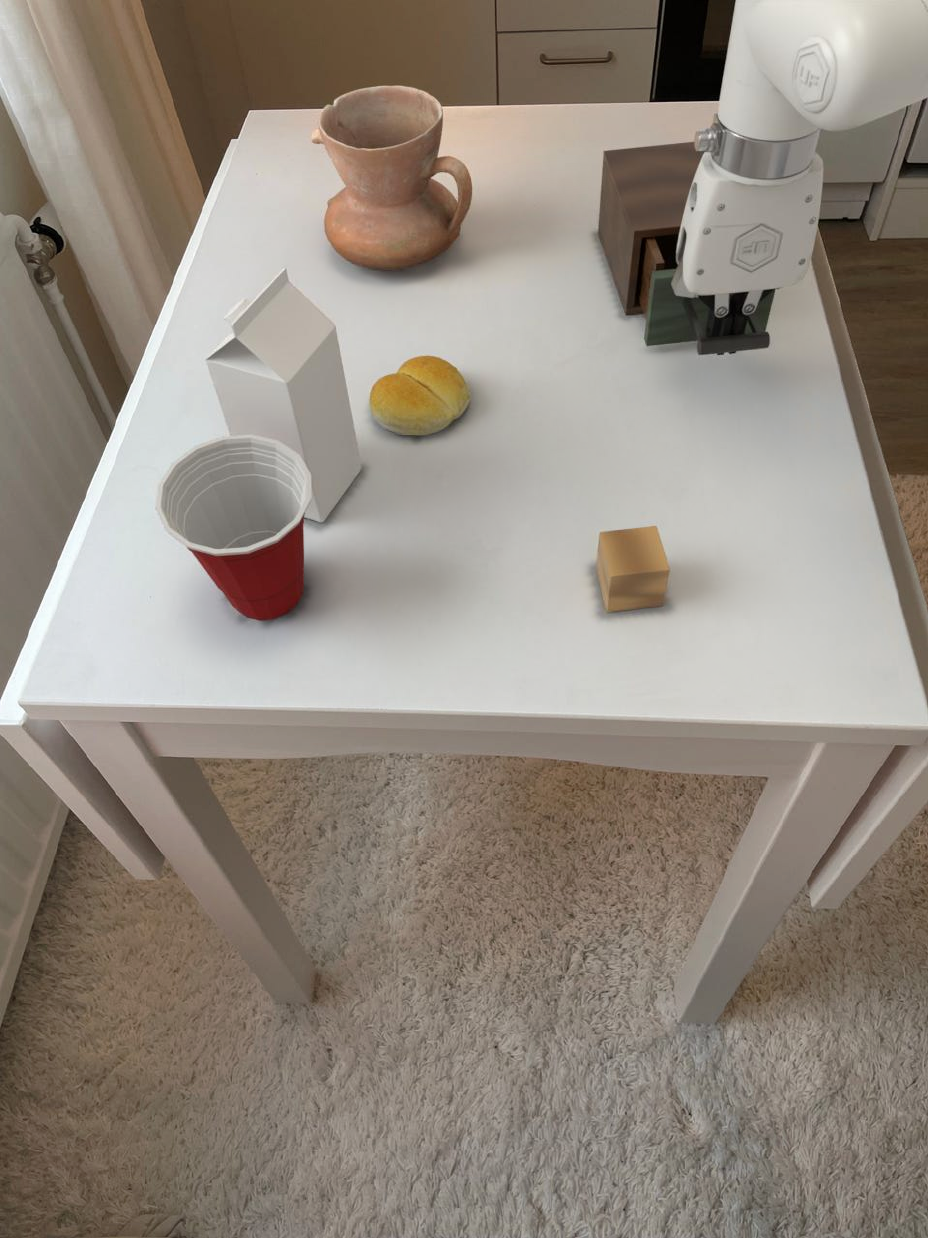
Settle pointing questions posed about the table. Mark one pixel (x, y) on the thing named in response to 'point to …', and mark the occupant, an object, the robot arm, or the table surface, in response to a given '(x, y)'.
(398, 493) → the table surface
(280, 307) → the milk carton
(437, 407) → the bread roll
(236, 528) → the plastic cup
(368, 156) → the ceramic jug
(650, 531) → the block
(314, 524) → the table surface
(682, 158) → the cabinet
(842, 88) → the robot arm
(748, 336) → the drawer
